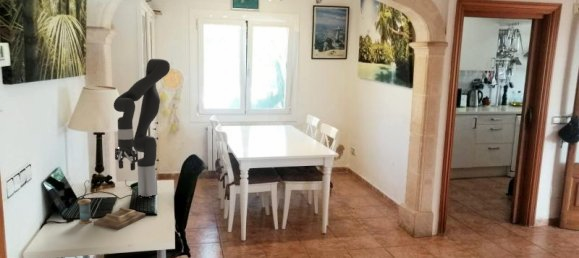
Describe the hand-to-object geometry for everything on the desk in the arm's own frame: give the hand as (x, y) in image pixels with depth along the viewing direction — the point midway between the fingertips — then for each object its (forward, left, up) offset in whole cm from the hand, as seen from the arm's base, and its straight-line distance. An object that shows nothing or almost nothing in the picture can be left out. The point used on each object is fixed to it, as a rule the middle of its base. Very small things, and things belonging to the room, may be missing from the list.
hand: (126, 169), depth 228 cm
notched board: (+19, +12, -18) cm, 29 cm away
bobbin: (+27, -1, -18) cm, 33 cm away
